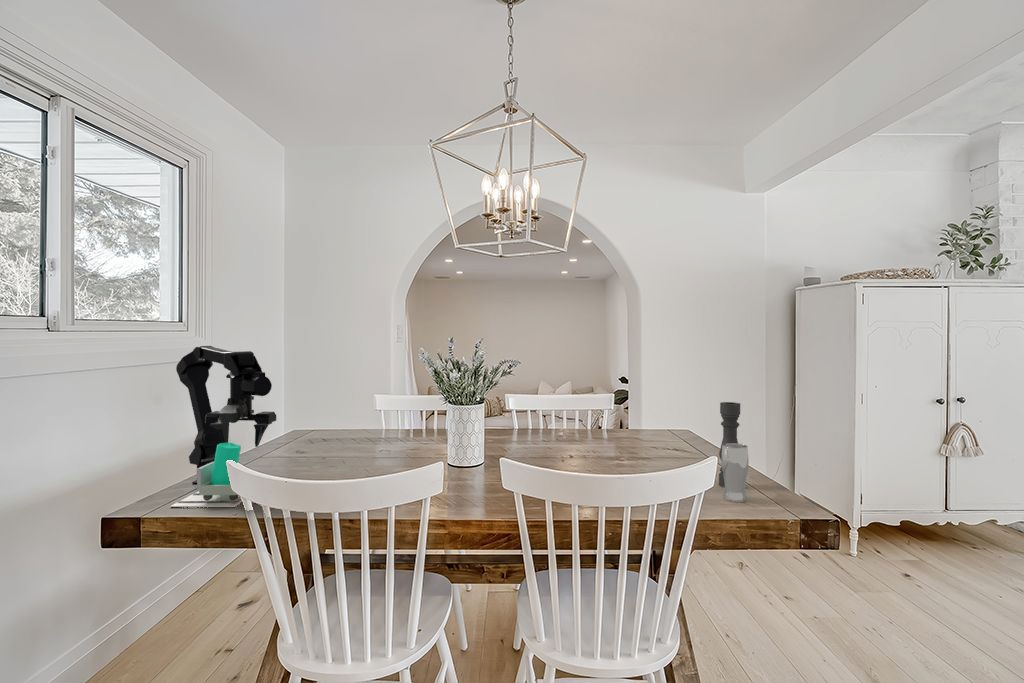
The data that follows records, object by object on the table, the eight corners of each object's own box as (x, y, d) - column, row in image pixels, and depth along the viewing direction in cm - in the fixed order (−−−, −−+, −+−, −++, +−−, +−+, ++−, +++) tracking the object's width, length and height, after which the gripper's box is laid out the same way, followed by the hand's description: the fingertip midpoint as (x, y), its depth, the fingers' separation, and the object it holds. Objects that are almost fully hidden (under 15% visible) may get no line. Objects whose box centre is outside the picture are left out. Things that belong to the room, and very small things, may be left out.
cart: (215, 490, 156) (214, 460, 156) (253, 490, 156) (253, 460, 156) (195, 501, 146) (194, 469, 146) (236, 501, 146) (236, 469, 146)
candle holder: (743, 485, 165) (744, 403, 165) (736, 489, 160) (737, 405, 160) (723, 481, 169) (723, 401, 169) (715, 485, 165) (716, 403, 164)
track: (198, 493, 158) (198, 490, 158) (257, 493, 158) (256, 490, 158) (170, 507, 145) (170, 505, 145) (234, 507, 145) (234, 504, 145)
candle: (224, 487, 148) (232, 443, 148) (205, 482, 149) (213, 439, 149) (239, 482, 154) (246, 440, 154) (220, 477, 155) (228, 436, 155)
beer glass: (748, 497, 153) (748, 444, 153) (747, 504, 147) (748, 449, 147) (722, 494, 156) (722, 442, 156) (720, 500, 150) (720, 446, 150)
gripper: (193, 397, 153) (193, 452, 153) (259, 397, 153) (259, 453, 153) (215, 392, 164) (215, 443, 164) (277, 392, 164) (277, 444, 164)
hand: (241, 446), depth 161 cm, fingers open, 9 cm apart
